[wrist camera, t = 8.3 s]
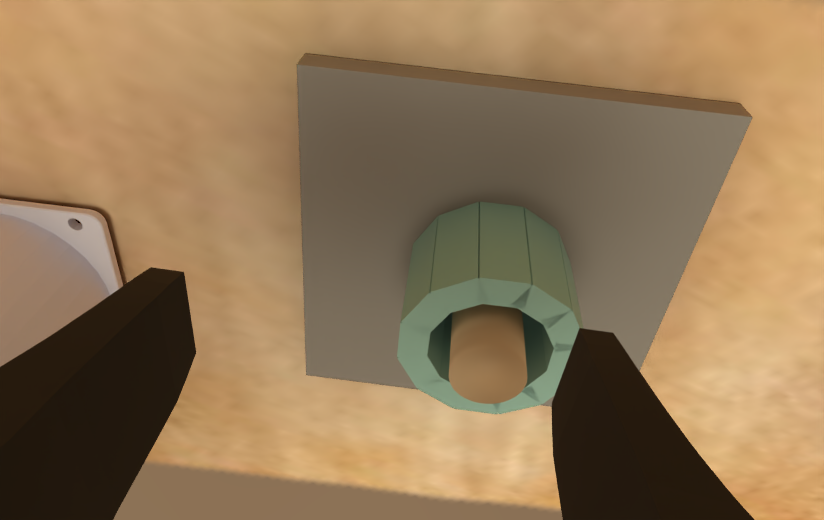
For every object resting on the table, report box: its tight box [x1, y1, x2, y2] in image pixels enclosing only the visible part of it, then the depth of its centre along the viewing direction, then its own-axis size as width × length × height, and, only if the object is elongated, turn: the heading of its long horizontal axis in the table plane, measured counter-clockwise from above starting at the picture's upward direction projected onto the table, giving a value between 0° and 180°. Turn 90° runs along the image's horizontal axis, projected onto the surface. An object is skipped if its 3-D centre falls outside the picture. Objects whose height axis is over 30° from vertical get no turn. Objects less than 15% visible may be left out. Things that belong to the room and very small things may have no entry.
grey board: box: [297, 54, 752, 407], centre depth 21 cm, size 13×13×1 cm
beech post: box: [449, 304, 527, 404], centre depth 19 cm, size 2×2×5 cm
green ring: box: [397, 202, 584, 414], centre depth 19 cm, size 5×5×4 cm
